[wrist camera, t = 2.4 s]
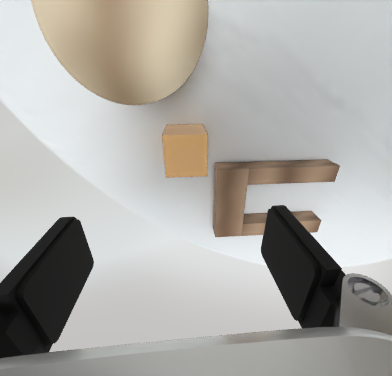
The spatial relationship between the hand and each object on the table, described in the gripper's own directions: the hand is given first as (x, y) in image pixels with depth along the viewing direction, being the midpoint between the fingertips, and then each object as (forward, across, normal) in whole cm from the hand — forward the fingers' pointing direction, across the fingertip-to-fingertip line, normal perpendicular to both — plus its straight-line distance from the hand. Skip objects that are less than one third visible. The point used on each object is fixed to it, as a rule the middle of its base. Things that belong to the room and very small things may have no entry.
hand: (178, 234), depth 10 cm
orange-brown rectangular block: (+18, -1, 0) cm, 18 cm away
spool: (+18, +2, -10) cm, 21 cm away
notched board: (+18, -13, +8) cm, 23 cm away
